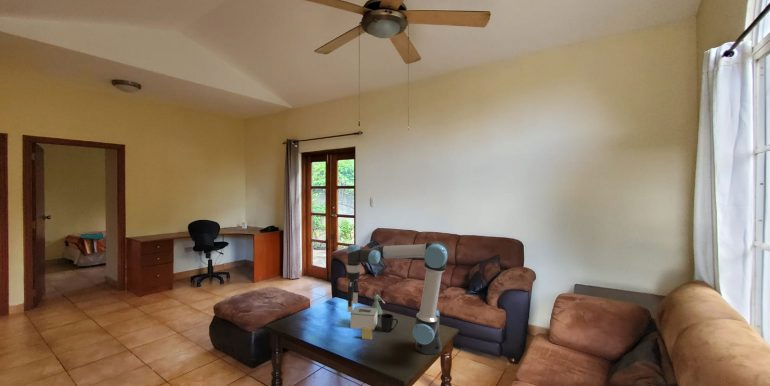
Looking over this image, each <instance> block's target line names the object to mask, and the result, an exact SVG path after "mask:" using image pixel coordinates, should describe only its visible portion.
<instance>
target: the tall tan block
mask: <svg viewBox="0 0 770 386" xmlns="http://www.w3.org/2000/svg"><path fill="white" fill-rule="evenodd" d="M373 331H374V330H373V328H365V327H363V329H361V340H368V341H369V340H370V341H372V339H373Z"/></svg>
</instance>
